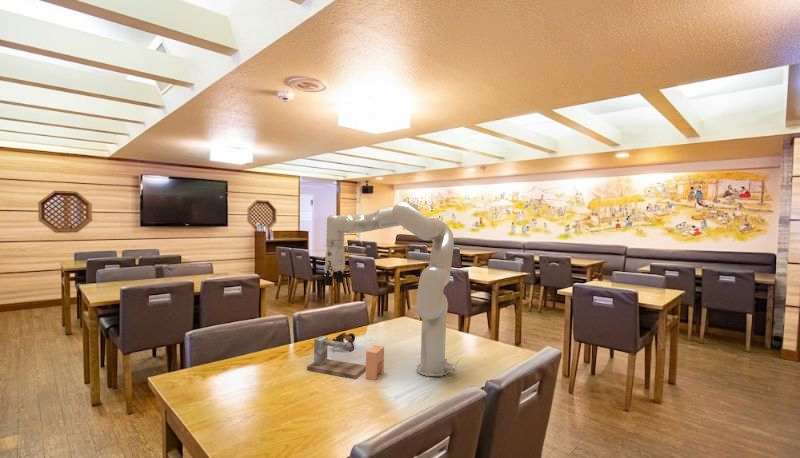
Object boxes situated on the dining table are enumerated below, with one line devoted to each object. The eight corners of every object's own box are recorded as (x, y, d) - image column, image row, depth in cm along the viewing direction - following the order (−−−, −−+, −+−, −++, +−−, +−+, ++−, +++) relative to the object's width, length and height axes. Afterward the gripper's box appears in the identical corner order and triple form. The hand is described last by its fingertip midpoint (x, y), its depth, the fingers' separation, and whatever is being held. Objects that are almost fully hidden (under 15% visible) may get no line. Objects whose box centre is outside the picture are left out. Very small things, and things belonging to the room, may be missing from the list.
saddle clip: (383, 372, 148) (384, 346, 148) (375, 380, 141) (376, 353, 140) (374, 370, 149) (374, 345, 149) (365, 378, 142) (366, 351, 142)
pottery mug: (348, 355, 168) (338, 338, 168) (334, 360, 173) (325, 344, 173) (363, 341, 178) (354, 325, 178) (350, 346, 183) (341, 331, 183)
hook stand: (367, 369, 150) (367, 340, 150) (355, 379, 141) (356, 348, 141) (320, 361, 158) (321, 333, 157) (306, 370, 148) (307, 340, 148)
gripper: (333, 245, 155) (332, 287, 156) (351, 243, 172) (350, 281, 172) (317, 244, 158) (316, 286, 158) (336, 243, 174) (335, 280, 174)
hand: (334, 283), depth 165 cm, fingers open, 9 cm apart
